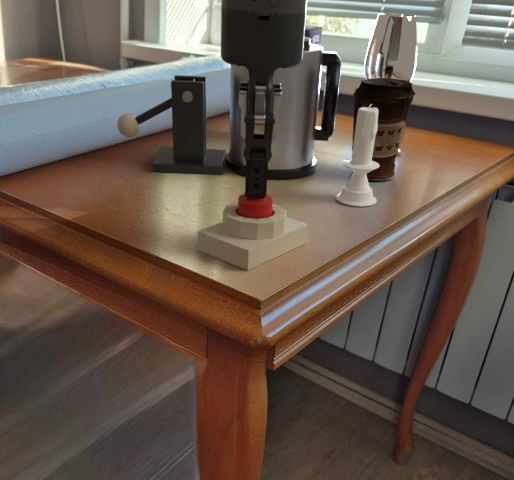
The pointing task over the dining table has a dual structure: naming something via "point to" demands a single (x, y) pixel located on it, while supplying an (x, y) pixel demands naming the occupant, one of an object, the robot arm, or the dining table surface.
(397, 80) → the coffee cup
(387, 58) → the wineglass
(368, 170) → the candle
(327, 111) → the kettle
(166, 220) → the dining table surface
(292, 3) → the robot arm
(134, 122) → the lever switch
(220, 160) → the switch bracket
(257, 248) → the power block
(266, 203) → the power button
